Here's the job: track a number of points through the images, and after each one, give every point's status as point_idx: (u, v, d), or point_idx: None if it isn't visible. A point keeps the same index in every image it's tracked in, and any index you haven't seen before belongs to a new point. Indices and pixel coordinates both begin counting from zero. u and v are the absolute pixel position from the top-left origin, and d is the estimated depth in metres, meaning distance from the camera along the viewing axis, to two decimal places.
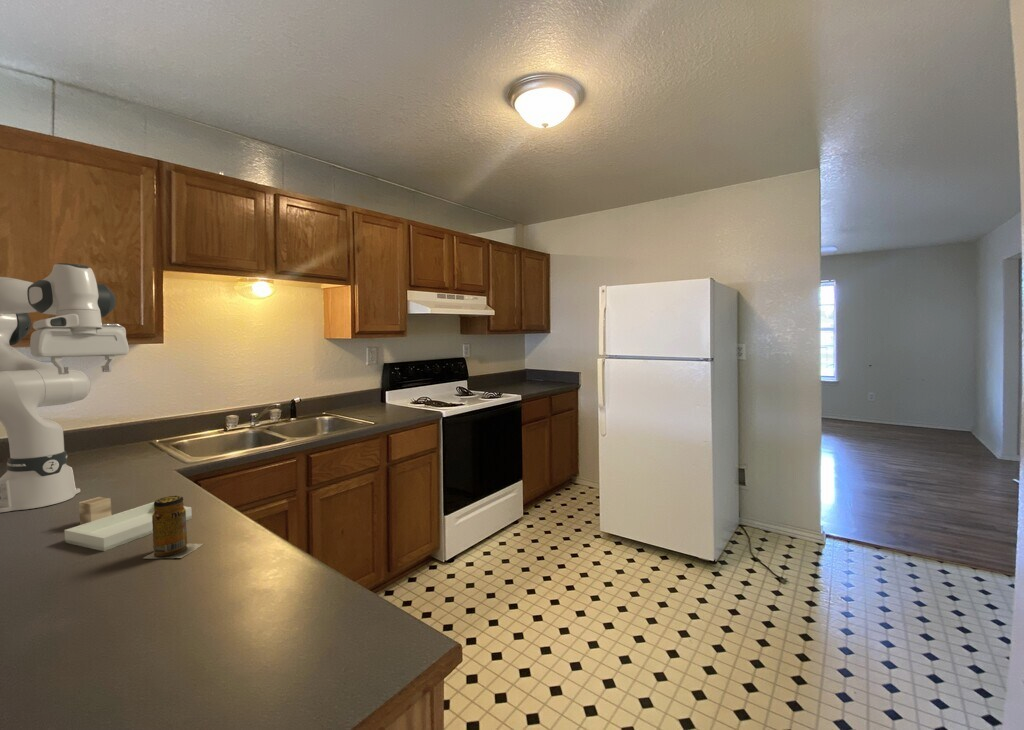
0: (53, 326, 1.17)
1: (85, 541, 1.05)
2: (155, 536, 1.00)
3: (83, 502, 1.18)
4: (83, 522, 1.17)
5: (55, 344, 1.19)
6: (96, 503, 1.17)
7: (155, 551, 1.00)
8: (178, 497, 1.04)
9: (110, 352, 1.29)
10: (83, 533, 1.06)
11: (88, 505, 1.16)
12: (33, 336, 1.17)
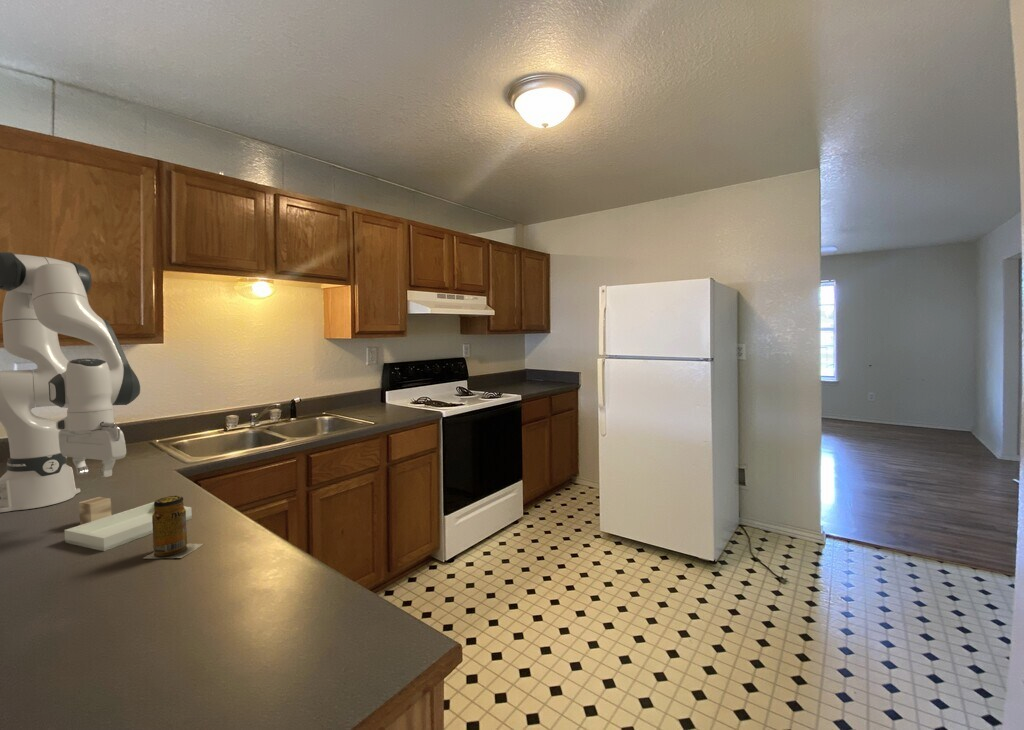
0: (60, 429, 1.17)
1: (85, 541, 1.05)
2: (155, 536, 1.00)
3: (83, 502, 1.18)
4: (83, 522, 1.17)
5: (68, 445, 1.18)
6: (96, 503, 1.17)
7: (155, 551, 1.00)
8: (178, 497, 1.04)
9: (98, 457, 1.15)
10: (83, 533, 1.06)
11: (88, 505, 1.16)
12: None
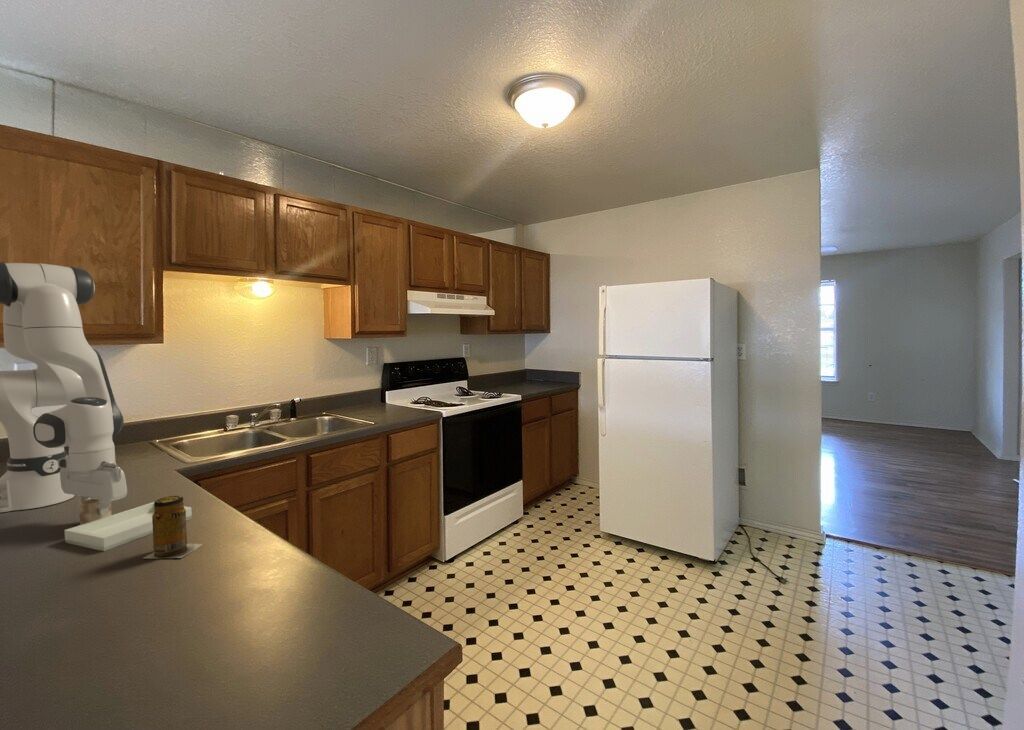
0: (61, 467, 1.18)
1: (85, 541, 1.05)
2: (155, 536, 1.00)
3: (83, 502, 1.18)
4: (83, 522, 1.17)
5: (69, 483, 1.19)
6: (96, 503, 1.17)
7: (155, 551, 1.00)
8: (178, 497, 1.04)
9: (99, 497, 1.15)
10: (83, 533, 1.06)
11: (88, 505, 1.16)
12: None
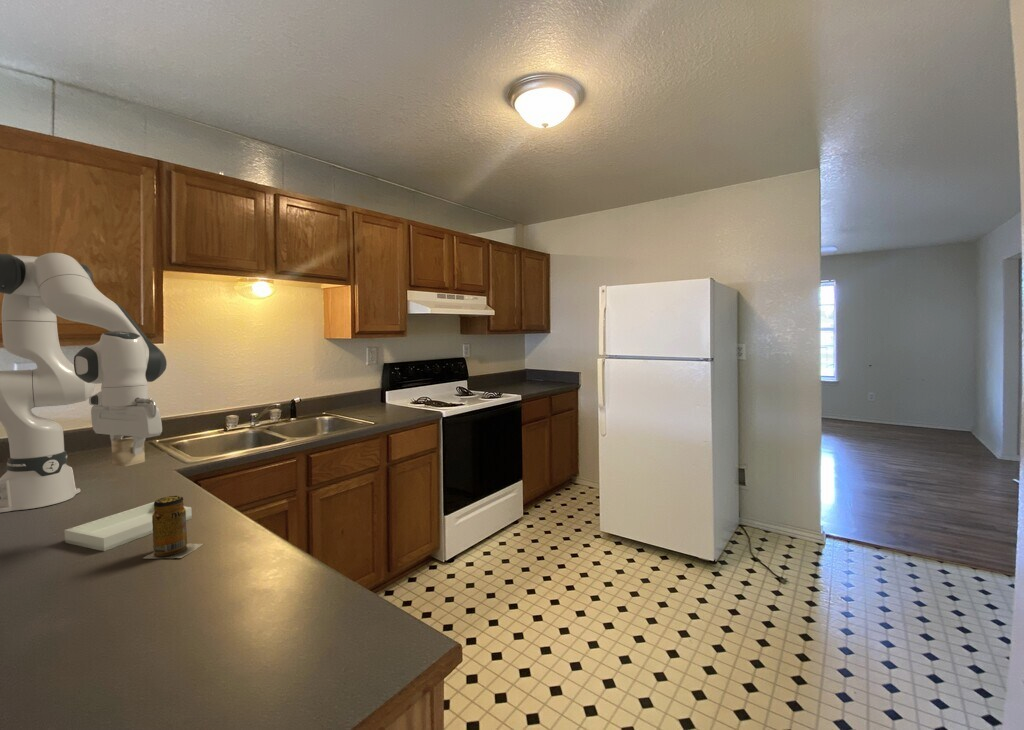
0: (93, 404, 1.12)
1: (85, 541, 1.05)
2: (155, 537, 1.00)
3: (116, 440, 1.12)
4: (116, 461, 1.12)
5: (101, 422, 1.14)
6: (129, 441, 1.12)
7: (155, 551, 1.00)
8: (178, 497, 1.04)
9: (133, 434, 1.10)
10: (83, 533, 1.06)
11: (121, 443, 1.11)
12: None
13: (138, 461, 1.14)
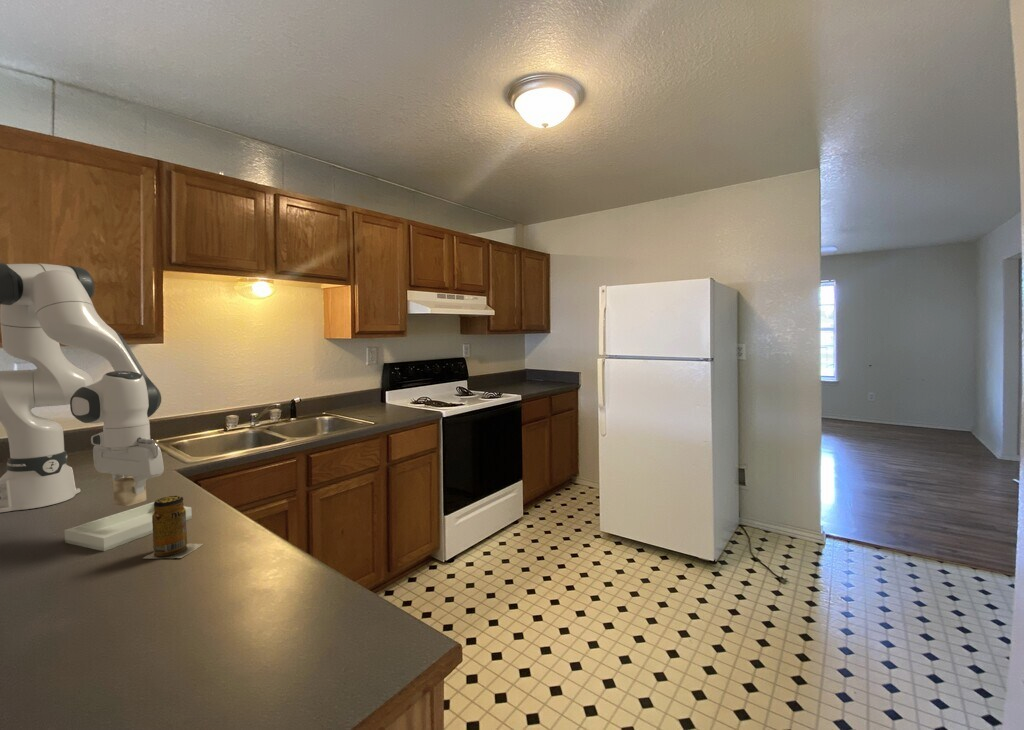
0: (95, 444, 1.13)
1: (85, 541, 1.05)
2: (155, 537, 1.00)
3: (117, 480, 1.12)
4: (117, 501, 1.12)
5: (103, 461, 1.14)
6: (131, 481, 1.12)
7: (155, 551, 1.00)
8: (178, 497, 1.04)
9: (135, 474, 1.10)
10: (83, 533, 1.06)
11: (123, 483, 1.11)
12: None
13: (140, 500, 1.14)
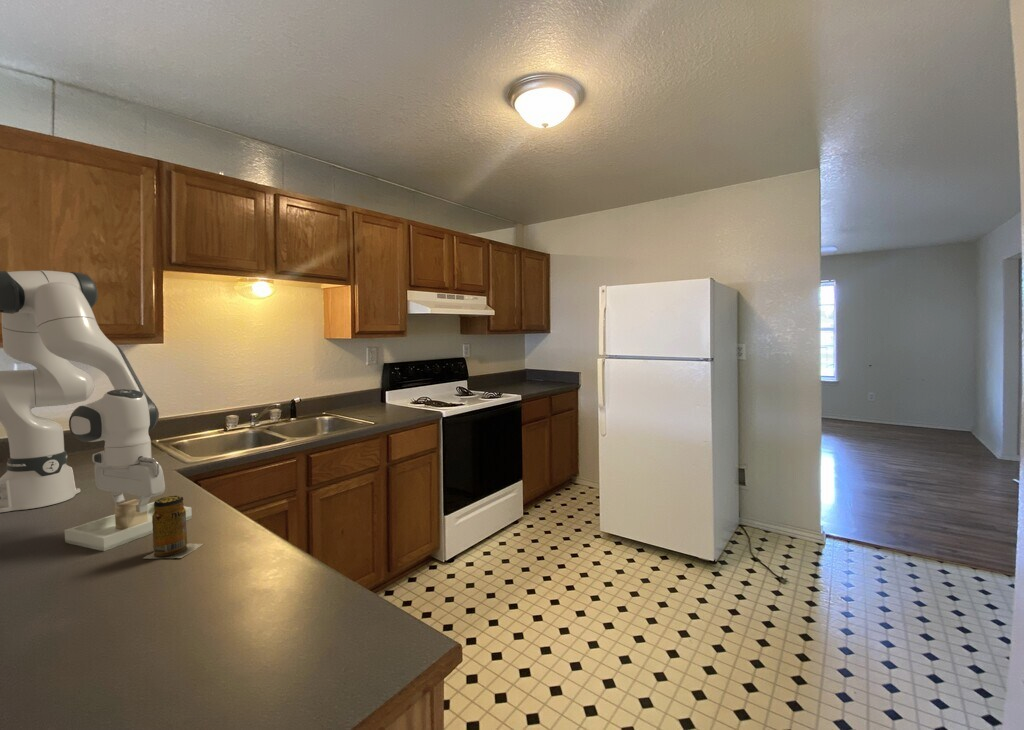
0: (96, 462, 1.13)
1: (85, 541, 1.05)
2: (155, 537, 1.00)
3: (119, 505, 1.13)
4: (119, 526, 1.13)
5: (104, 478, 1.14)
6: (133, 506, 1.13)
7: (155, 551, 1.00)
8: (178, 497, 1.04)
9: (137, 493, 1.11)
10: (83, 533, 1.06)
11: (125, 508, 1.12)
12: None
13: None
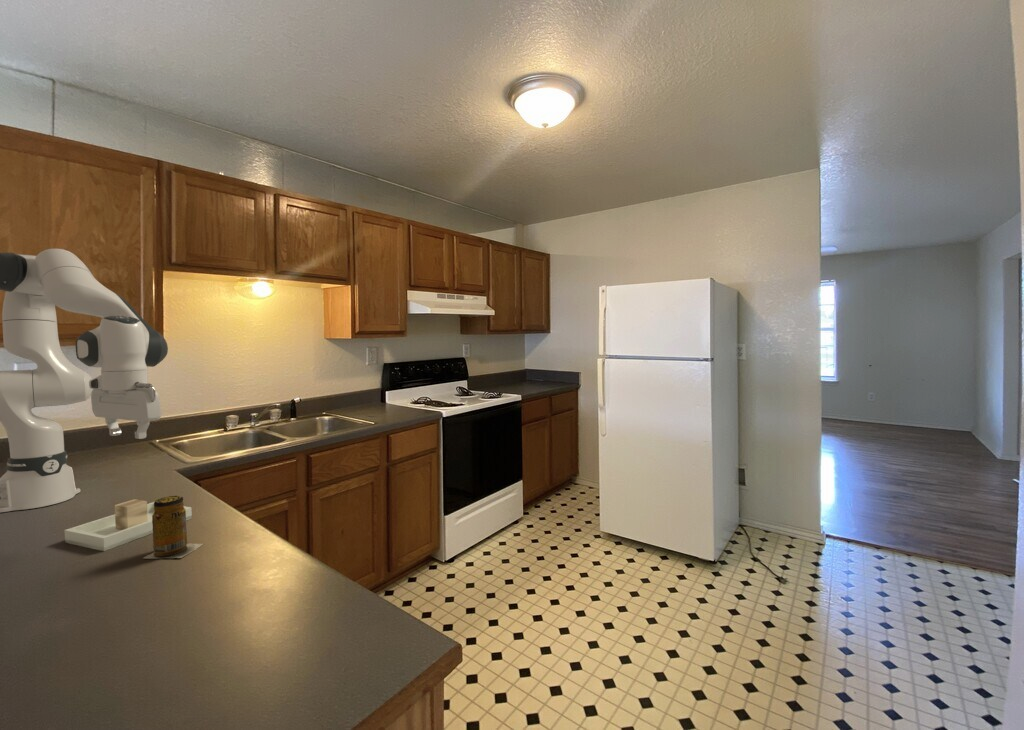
0: (93, 388, 1.13)
1: (85, 541, 1.05)
2: (155, 537, 1.00)
3: (119, 505, 1.13)
4: (119, 526, 1.13)
5: (101, 405, 1.15)
6: (133, 506, 1.13)
7: (155, 551, 1.00)
8: (178, 497, 1.04)
9: (133, 418, 1.11)
10: (83, 533, 1.06)
11: (125, 508, 1.12)
12: None
13: None
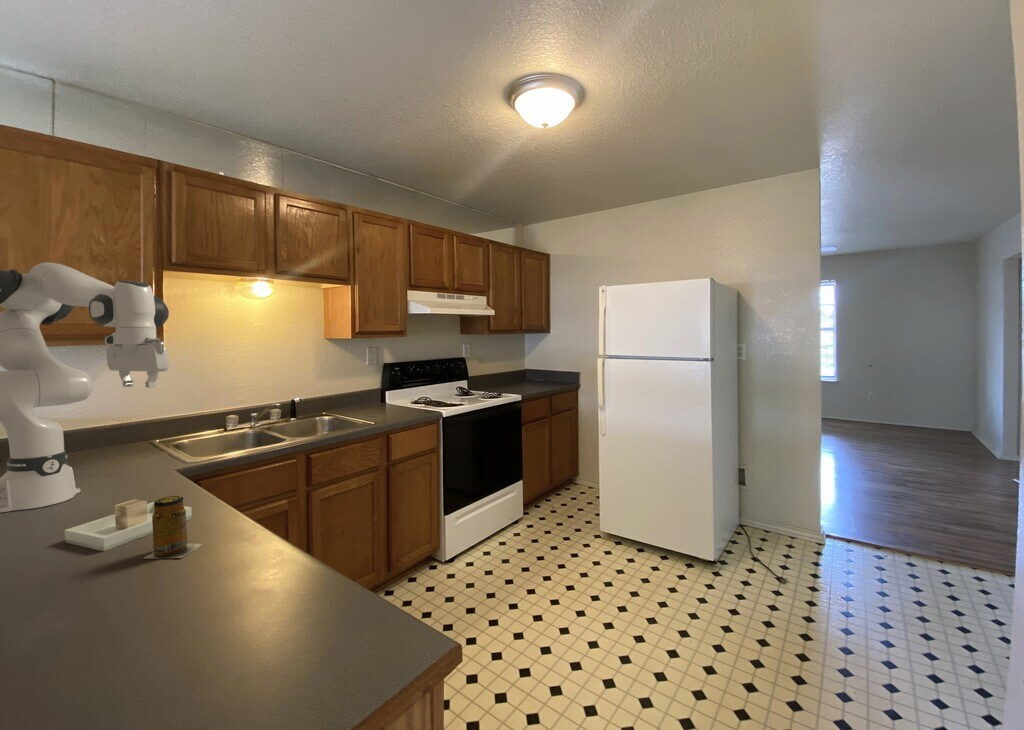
0: (108, 344, 1.29)
1: (85, 541, 1.05)
2: (155, 536, 1.00)
3: (119, 505, 1.13)
4: (119, 526, 1.13)
5: (115, 360, 1.30)
6: (133, 506, 1.13)
7: (155, 551, 1.00)
8: (178, 497, 1.04)
9: (144, 369, 1.27)
10: (83, 533, 1.06)
11: (125, 508, 1.12)
12: None
13: None
